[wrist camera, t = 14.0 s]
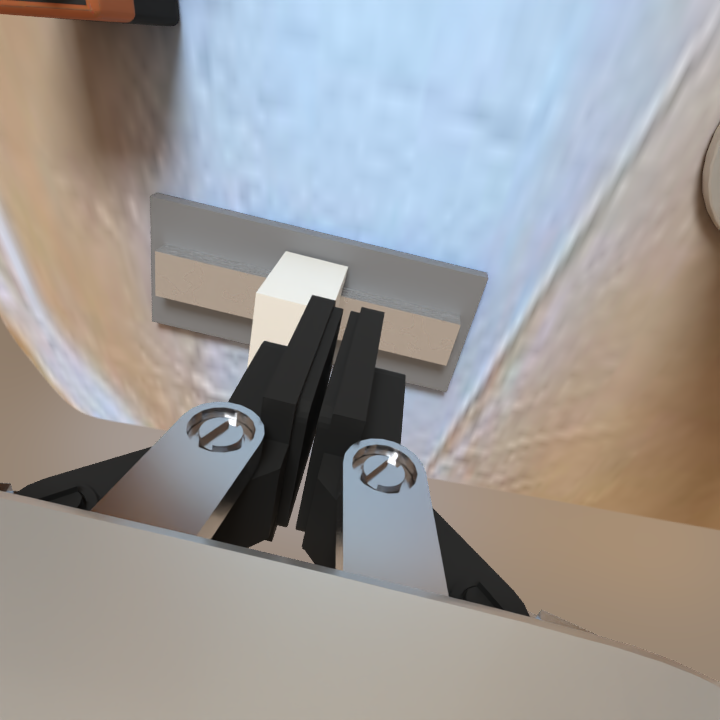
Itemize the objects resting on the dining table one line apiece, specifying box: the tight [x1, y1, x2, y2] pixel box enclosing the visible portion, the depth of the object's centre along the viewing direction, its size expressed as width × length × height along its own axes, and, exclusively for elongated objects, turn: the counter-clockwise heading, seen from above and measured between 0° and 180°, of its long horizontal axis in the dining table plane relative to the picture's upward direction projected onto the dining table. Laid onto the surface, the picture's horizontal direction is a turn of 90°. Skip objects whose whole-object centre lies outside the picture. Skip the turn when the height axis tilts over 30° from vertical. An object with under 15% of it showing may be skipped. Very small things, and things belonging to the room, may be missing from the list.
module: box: [247, 251, 348, 368], centre depth 35 cm, size 4×8×7 cm, turn 168°
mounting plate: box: [150, 193, 488, 392], centre depth 38 cm, size 24×10×1 cm, turn 78°
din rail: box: [155, 244, 461, 366], centre depth 37 cm, size 22×4×2 cm, turn 78°
